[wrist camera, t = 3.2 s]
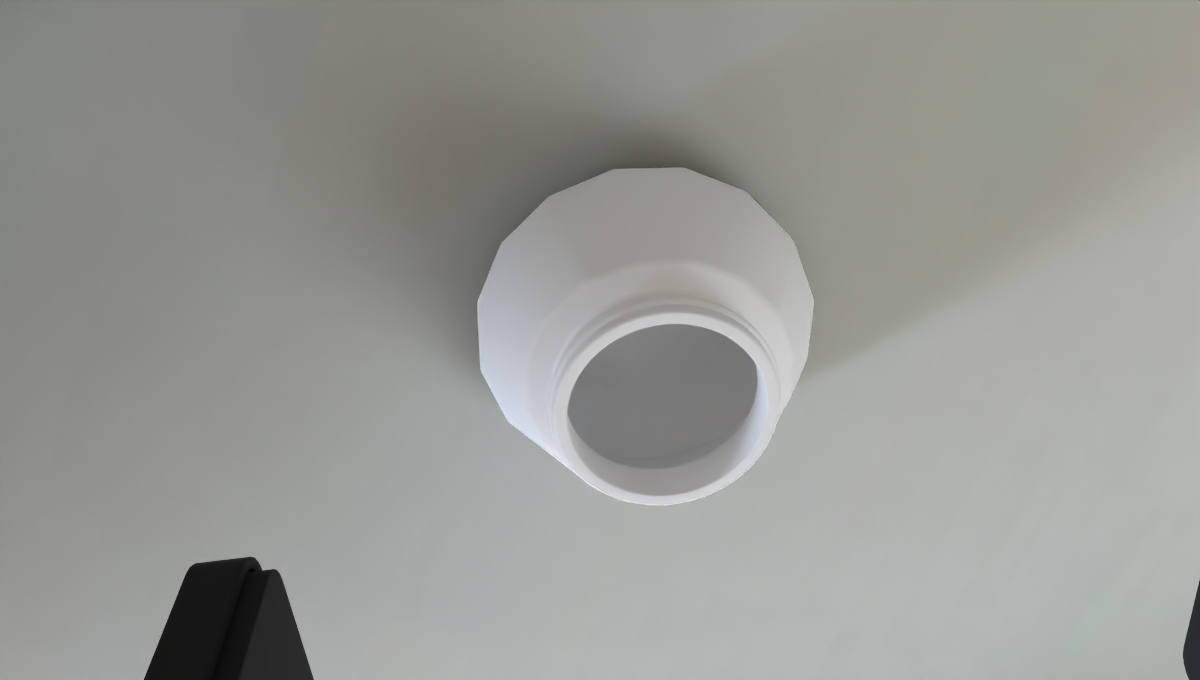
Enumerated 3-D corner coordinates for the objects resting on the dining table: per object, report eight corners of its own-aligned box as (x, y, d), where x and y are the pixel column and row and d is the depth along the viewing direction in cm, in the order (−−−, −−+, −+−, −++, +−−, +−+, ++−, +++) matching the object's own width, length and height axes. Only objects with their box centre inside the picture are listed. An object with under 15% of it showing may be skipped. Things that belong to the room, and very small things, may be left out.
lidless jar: (422, 237, 16) (556, 486, 18) (408, 331, 13) (566, 607, 15) (741, 104, 15) (835, 379, 17) (792, 174, 12) (895, 486, 15)
